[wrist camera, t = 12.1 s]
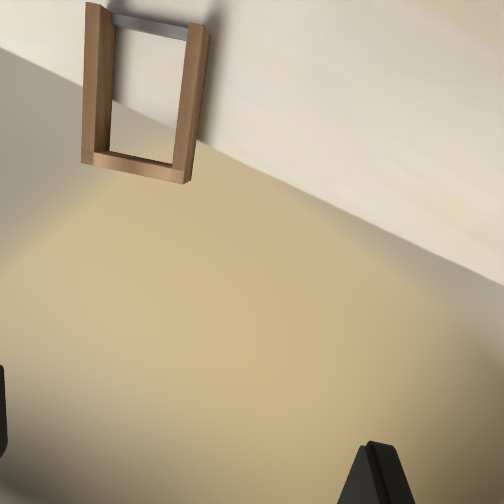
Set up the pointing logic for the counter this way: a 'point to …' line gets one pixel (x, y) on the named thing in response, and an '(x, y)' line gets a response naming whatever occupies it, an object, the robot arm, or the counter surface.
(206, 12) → the counter surface
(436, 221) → the counter surface
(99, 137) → the brown hollow open frame
